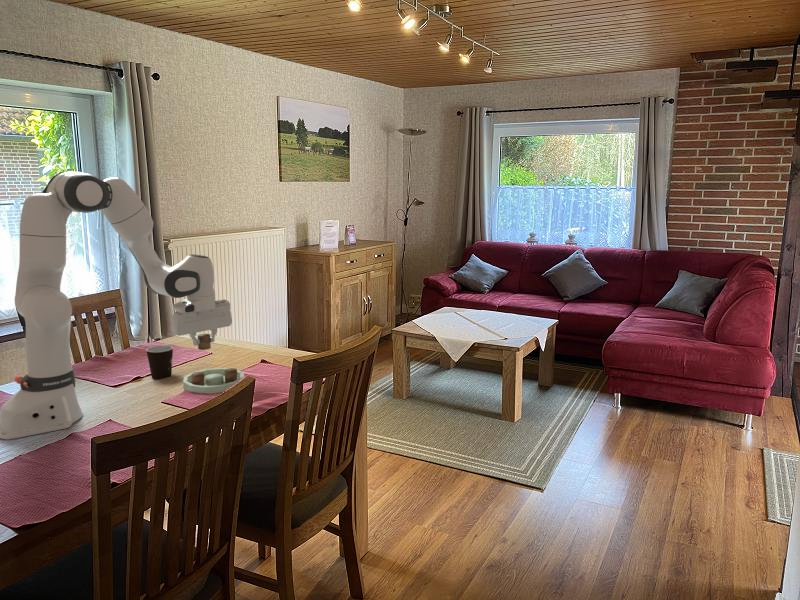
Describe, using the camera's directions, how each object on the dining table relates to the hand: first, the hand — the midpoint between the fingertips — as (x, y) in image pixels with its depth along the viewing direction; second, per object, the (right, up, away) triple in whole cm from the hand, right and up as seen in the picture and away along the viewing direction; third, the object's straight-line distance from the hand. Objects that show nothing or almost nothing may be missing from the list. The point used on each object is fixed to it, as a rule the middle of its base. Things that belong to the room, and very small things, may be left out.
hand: (204, 343), depth 210 cm
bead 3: (+10, -13, -1) cm, 16 cm away
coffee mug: (-17, -12, +9) cm, 22 cm away
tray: (+4, -14, -1) cm, 15 cm away
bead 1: (0, -14, -5) cm, 15 cm away
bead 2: (0, -2, 0) cm, 2 cm away
